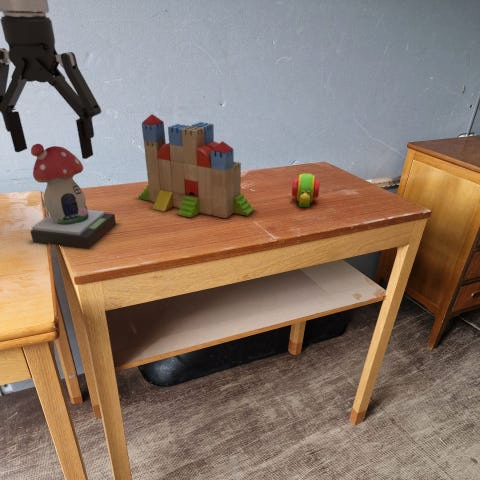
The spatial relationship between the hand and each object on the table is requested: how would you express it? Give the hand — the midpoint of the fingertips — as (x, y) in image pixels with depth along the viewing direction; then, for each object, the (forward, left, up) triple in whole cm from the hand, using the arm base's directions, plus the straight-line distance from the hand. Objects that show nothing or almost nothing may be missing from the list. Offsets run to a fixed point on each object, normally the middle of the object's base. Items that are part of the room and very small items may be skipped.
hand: (54, 153), depth 82 cm
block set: (+20, +21, -16) cm, 33 cm away
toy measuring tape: (+45, +34, -16) cm, 59 cm away
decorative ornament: (0, 0, -13) cm, 13 cm away
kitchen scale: (+1, 0, -16) cm, 16 cm away
